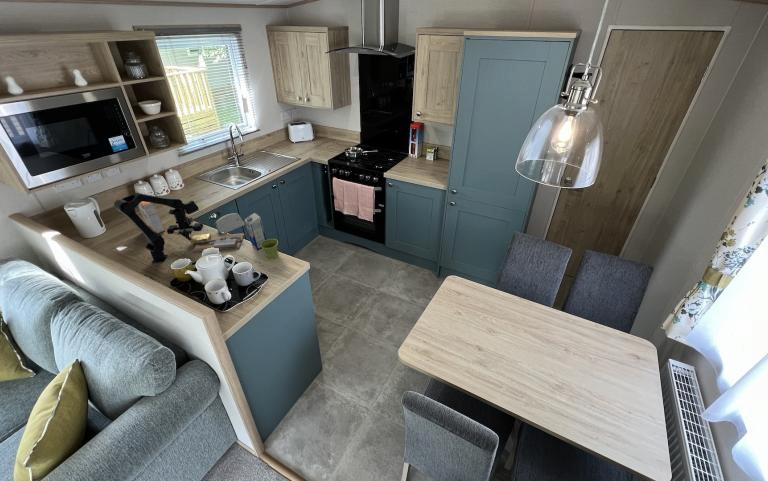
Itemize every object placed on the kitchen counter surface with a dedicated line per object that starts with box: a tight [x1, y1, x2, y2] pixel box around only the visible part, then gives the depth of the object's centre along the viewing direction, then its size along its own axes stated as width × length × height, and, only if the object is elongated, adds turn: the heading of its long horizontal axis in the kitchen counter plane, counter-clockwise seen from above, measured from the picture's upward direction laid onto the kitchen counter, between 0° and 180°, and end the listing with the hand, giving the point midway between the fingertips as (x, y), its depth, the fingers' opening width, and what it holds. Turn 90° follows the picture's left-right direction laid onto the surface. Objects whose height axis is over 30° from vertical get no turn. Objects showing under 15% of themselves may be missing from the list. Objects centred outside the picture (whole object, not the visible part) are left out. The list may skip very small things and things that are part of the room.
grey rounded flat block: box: [214, 212, 246, 235], centre depth 221 cm, size 17×5×10 cm, turn 138°
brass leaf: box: [189, 233, 212, 245], centre depth 208 cm, size 6×10×2 cm, turn 97°
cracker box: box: [137, 201, 166, 234], centre depth 218 cm, size 14×6×21 cm, turn 49°
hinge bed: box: [192, 233, 245, 254], centre depth 206 cm, size 16×26×4 cm, turn 98°
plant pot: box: [261, 238, 279, 260], centre depth 192 cm, size 9×9×9 cm
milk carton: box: [244, 212, 267, 251], centre depth 198 cm, size 7×7×20 cm
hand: (190, 240), depth 207 cm, fingers closed
